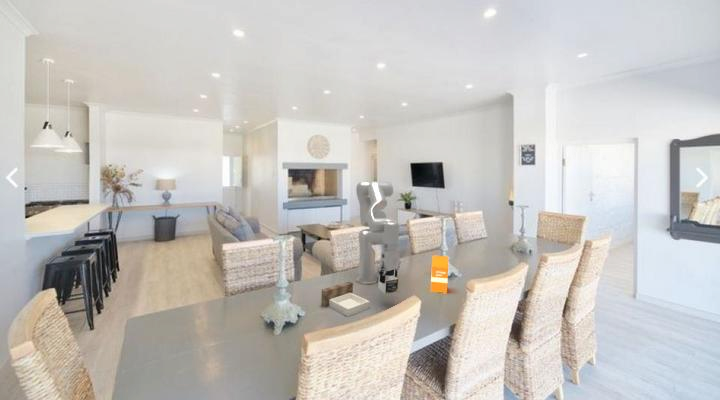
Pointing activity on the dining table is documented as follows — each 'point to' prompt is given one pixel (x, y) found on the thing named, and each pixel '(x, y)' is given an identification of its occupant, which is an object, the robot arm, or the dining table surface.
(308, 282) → the dining table surface
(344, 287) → the backstop wall
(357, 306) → the white square tray
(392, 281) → the medicine bottle
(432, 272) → the orange juice
